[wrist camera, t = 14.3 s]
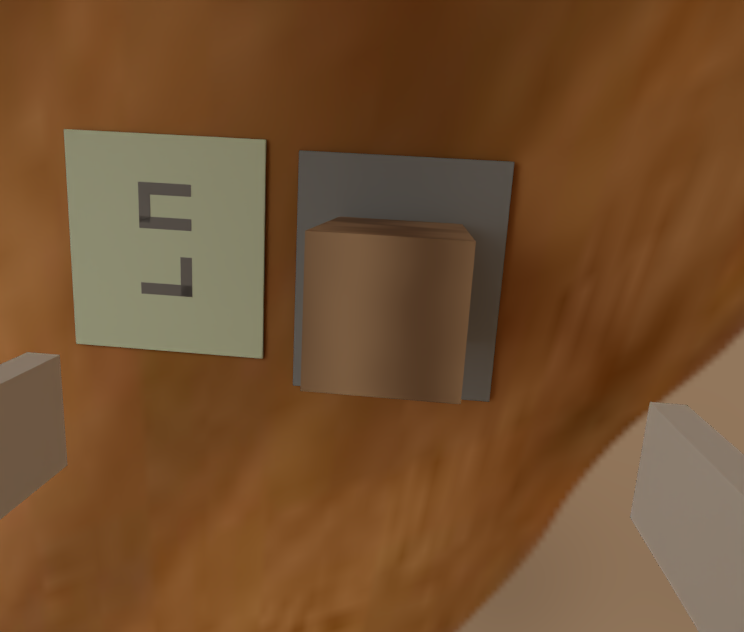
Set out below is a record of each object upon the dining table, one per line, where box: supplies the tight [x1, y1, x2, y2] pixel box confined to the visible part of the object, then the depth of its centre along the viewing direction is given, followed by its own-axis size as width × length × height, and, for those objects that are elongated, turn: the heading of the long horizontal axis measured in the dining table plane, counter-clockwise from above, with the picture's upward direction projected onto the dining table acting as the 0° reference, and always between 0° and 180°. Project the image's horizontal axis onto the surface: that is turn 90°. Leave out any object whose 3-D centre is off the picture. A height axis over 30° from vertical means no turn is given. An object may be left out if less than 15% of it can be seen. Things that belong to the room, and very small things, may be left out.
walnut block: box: [300, 217, 476, 404], centre depth 30 cm, size 7×7×10 cm
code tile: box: [64, 129, 266, 358], centre depth 36 cm, size 12×13×1 cm
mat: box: [293, 150, 514, 402], centre depth 35 cm, size 12×14×1 cm
